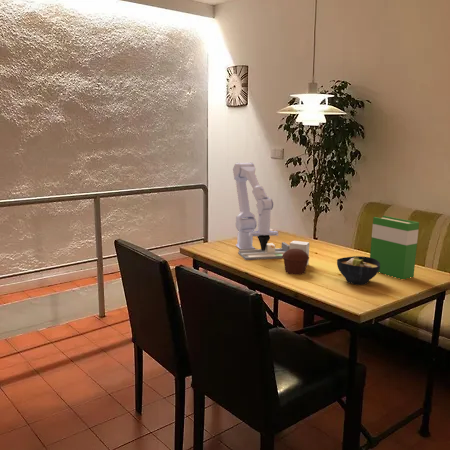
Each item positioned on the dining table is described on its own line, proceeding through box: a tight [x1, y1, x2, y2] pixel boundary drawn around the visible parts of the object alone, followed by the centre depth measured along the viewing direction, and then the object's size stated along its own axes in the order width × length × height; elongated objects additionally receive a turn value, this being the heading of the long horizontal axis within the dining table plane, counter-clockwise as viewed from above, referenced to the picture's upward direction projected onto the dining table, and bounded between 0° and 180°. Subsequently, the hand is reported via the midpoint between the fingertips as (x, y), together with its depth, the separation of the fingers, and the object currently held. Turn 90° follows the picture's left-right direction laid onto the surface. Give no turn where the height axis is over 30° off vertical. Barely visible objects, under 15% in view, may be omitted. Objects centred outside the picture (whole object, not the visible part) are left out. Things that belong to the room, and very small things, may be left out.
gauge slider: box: [265, 242, 276, 252], centre depth 235 cm, size 8×4×4 cm, turn 14°
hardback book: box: [369, 215, 420, 280], centre depth 208 cm, size 18×7×24 cm, turn 34°
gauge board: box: [238, 241, 290, 261], centre depth 234 cm, size 12×24×5 cm, turn 104°
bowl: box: [336, 255, 380, 286], centre depth 196 cm, size 17×17×10 cm
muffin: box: [282, 249, 310, 276], centre depth 208 cm, size 12×11×10 cm
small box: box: [289, 240, 310, 266], centre depth 219 cm, size 8×6×10 cm
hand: (263, 250), depth 236 cm, fingers closed
